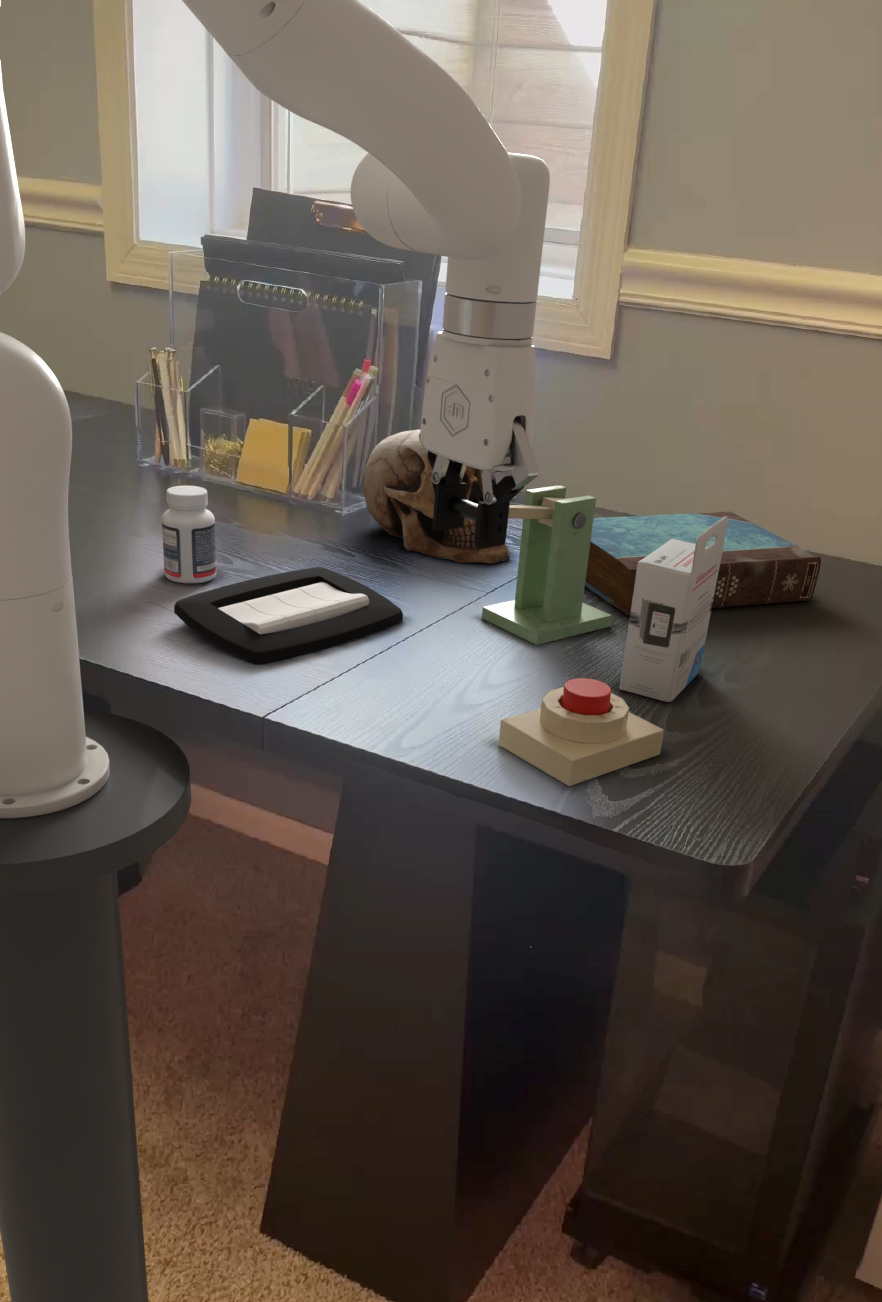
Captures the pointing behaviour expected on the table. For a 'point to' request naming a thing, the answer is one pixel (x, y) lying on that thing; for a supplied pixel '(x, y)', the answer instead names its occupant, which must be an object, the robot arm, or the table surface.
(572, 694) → the button
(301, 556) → the table surface
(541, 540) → the bracket
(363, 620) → the light switch
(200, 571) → the pill bottle
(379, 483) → the human skull model
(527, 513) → the lever
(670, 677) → the ink box
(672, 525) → the book
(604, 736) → the button box
